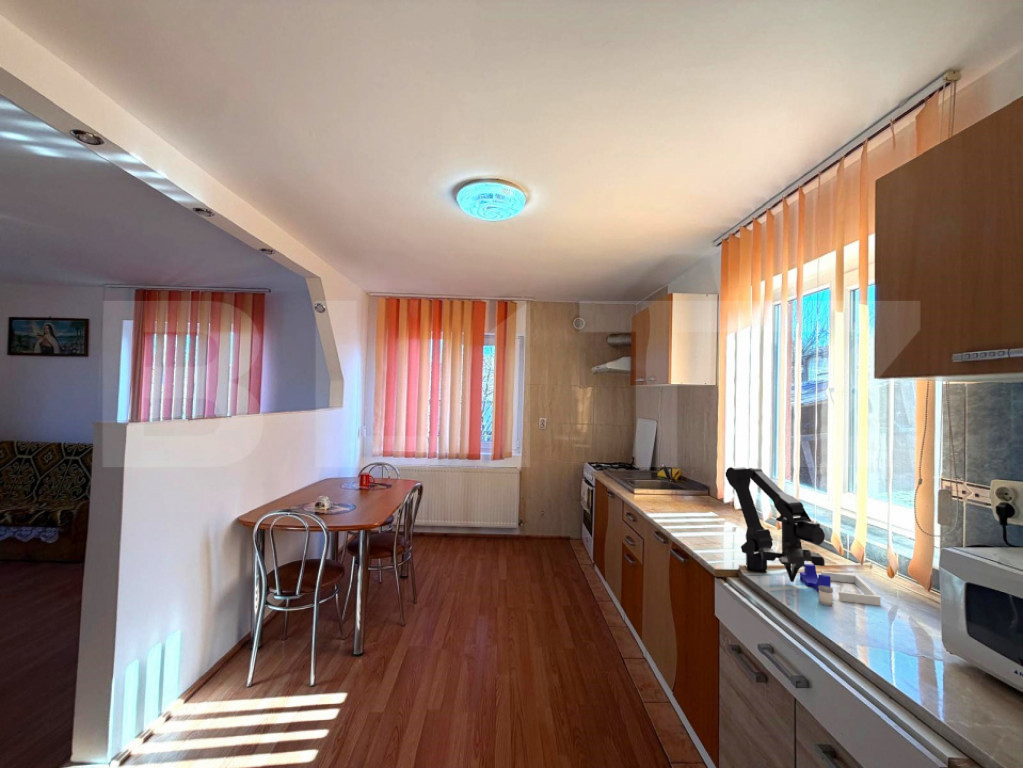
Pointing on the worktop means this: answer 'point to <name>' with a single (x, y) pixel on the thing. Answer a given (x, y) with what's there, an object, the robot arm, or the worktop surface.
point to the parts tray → (853, 597)
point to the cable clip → (814, 577)
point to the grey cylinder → (825, 595)
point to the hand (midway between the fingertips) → (791, 581)
